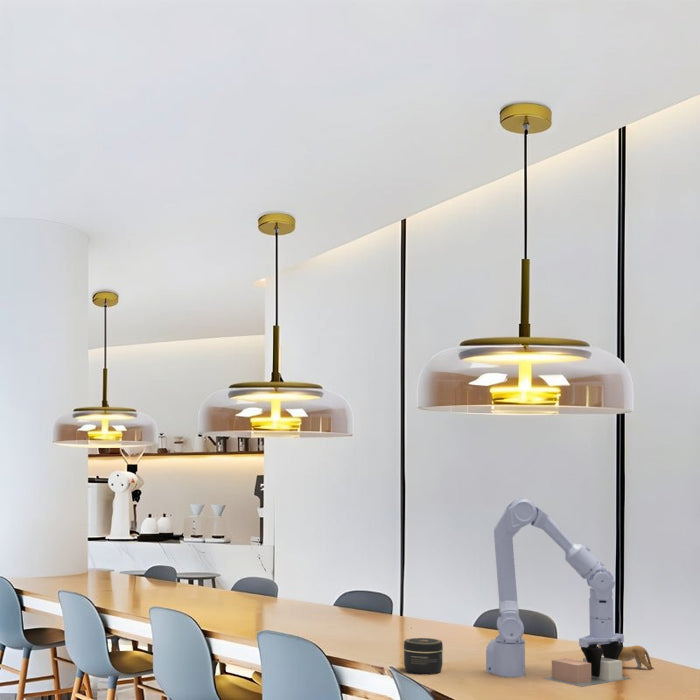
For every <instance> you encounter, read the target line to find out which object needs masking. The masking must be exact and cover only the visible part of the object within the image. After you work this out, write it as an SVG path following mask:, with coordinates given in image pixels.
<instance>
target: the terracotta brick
mask: <svg viewBox="0 0 700 700" xmlns="http://www.w3.org/2000/svg"><path fill="white" fill-rule="evenodd" d="M551 677H552V678H554V679H558V680H563V681H568V682H572V683H577V684H578V683H585V682H591V663H587V662H583V660H577V659H572V658H566V657H565V658H559V659H558V658H556V659H551Z"/></svg>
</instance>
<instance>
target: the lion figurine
mask: <svg viewBox="0 0 700 700" xmlns="http://www.w3.org/2000/svg"><path fill="white" fill-rule="evenodd" d="M618 644H620V642H618ZM597 647H598V648H601V645H597ZM602 657H604V655H603V653H602ZM633 659H635V662H636V665H637V666H636V669H641V668H642V665H643V666H644V667H646V669H647V670H648V671H652V670H655V668H654V667H653V666H652V662H651V658H650V655H649V652H648V651H647V649H646V648H644V647H643V646H642V645H641V646H640V645H633V646H624V645H623V649H622V651H621V653H620V655H619V657H618V660H620V661H622V662H630V661H632V660H633Z"/></svg>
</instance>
